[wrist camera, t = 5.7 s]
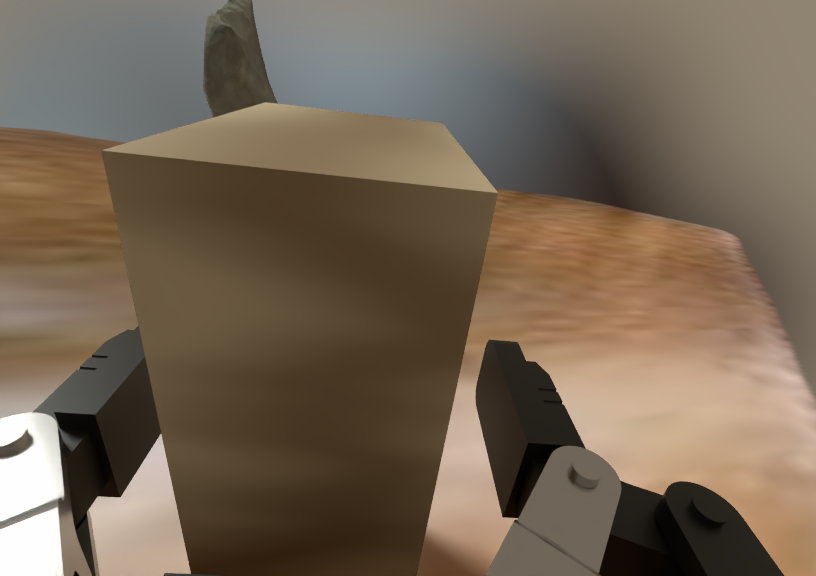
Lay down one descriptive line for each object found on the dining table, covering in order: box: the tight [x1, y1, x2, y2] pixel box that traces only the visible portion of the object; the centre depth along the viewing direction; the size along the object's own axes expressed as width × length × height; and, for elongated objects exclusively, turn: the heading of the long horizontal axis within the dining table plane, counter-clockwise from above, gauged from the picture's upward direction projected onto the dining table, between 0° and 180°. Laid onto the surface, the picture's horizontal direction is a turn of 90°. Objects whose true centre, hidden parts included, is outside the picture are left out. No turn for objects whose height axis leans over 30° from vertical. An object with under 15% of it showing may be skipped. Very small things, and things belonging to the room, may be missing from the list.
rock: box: [203, 0, 278, 118], centre depth 44 cm, size 27×6×20 cm, turn 18°
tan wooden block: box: [101, 102, 498, 576], centre depth 10 cm, size 4×6×14 cm, turn 2°
